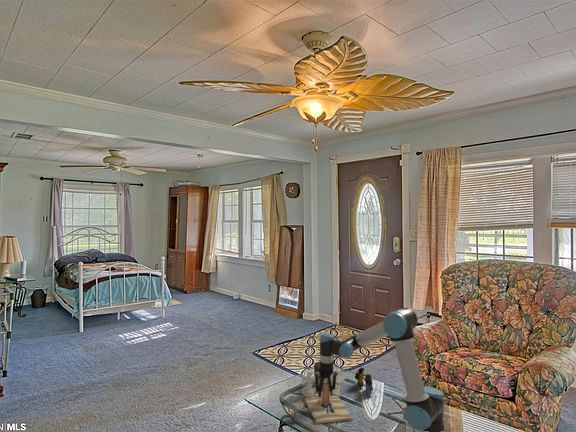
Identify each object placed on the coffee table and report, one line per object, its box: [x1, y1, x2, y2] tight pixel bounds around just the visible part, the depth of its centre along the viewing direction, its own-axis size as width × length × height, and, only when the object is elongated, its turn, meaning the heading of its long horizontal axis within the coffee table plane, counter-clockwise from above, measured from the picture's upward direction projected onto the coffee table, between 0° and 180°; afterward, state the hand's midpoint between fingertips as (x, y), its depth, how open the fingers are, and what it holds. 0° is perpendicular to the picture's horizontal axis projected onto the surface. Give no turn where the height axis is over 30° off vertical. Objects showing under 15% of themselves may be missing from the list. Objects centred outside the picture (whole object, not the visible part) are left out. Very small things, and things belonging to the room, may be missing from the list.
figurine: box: [301, 370, 317, 398], centre depth 227 cm, size 7×9×15 cm
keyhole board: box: [304, 395, 354, 425], centre depth 212 cm, size 24×20×2 cm
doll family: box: [353, 367, 374, 398], centre depth 236 cm, size 23×9×13 cm, turn 23°
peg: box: [320, 381, 329, 406], centre depth 217 cm, size 4×4×12 cm
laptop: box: [330, 354, 350, 385], centre depth 254 cm, size 18×12×13 cm
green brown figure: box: [312, 361, 328, 388], centre depth 239 cm, size 10×10×14 cm
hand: (324, 401), depth 217 cm, fingers closed on peg, 4 cm apart
